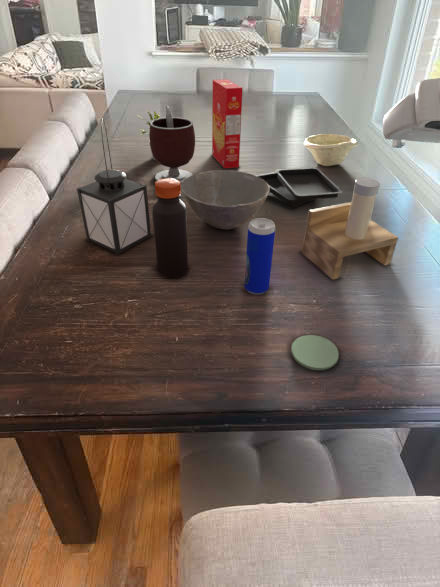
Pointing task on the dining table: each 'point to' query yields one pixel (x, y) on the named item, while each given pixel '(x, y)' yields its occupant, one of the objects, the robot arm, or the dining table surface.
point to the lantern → (114, 209)
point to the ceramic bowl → (225, 196)
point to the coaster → (314, 352)
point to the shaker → (361, 208)
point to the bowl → (329, 148)
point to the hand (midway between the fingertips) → (420, 145)
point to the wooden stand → (342, 240)
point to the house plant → (149, 124)
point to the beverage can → (259, 255)
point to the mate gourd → (172, 145)
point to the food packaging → (226, 122)
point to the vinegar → (170, 229)
